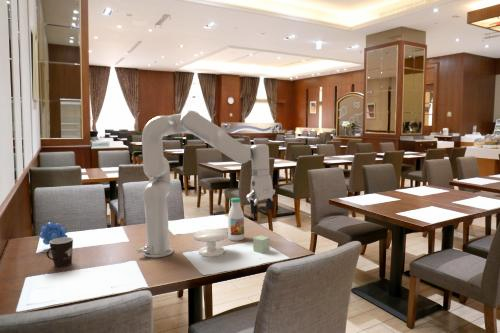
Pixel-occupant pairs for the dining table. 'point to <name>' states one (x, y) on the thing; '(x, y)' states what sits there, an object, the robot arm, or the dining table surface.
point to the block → (261, 244)
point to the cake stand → (211, 241)
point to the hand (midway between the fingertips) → (262, 211)
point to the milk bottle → (235, 221)
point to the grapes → (52, 232)
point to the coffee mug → (61, 251)
